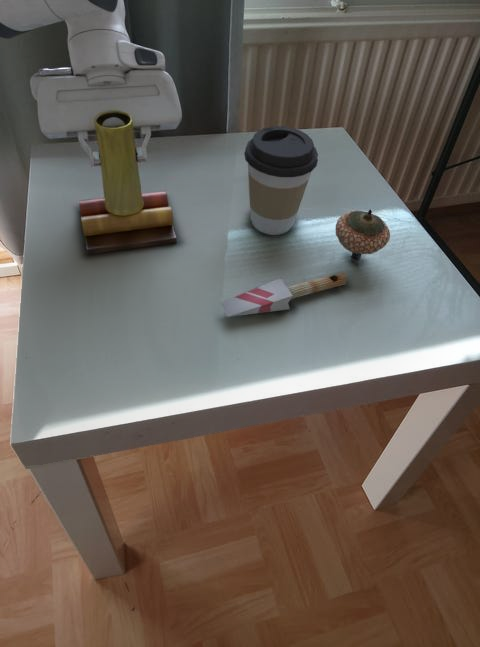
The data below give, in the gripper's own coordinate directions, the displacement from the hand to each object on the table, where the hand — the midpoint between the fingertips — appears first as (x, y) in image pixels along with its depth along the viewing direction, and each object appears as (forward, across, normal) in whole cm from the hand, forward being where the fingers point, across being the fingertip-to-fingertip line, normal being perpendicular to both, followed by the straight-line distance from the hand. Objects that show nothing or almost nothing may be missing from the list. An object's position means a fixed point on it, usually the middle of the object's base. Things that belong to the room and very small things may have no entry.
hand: (119, 163), depth 74 cm
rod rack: (+8, 0, +9) cm, 12 cm away
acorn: (+19, +34, -2) cm, 39 cm away
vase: (+5, 0, +6) cm, 8 cm away
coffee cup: (+11, +24, +6) cm, 27 cm away
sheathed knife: (+24, +20, -7) cm, 32 cm away
